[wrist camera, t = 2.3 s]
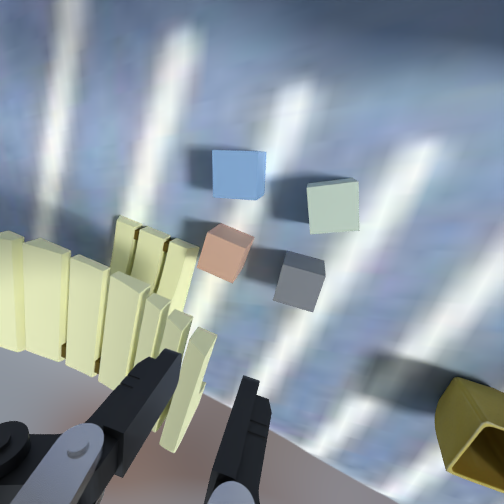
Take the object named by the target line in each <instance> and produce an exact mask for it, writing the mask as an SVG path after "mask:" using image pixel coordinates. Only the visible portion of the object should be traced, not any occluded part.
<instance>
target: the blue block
mask: <svg viewBox="0 0 504 504" xmlns="http://www.w3.org/2000/svg"><path fill="white" fill-rule="evenodd" d="M212 168H213V197H215V198H230V199H245V200H257V199H259V198H260V197H262V196H263V195H264V192H265V170H266V152H260V151H230V150H212Z"/></svg>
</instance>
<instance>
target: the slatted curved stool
mask: <svg viewBox="0 0 504 504" xmlns="http://www.w3.org/2000/svg"><path fill="white" fill-rule="evenodd" d="M141 227H142V224H141V223H138V222H136V221H133V220H131V219H128V218H126V217H123V216H121V215H120V216H119V218H118V219H117V222H116V231H115V238H114V245H113V252H112V258H111V263H110V267H108V266H106V265H103V264H101V263H99V262H96V261H94V260H92V259H89V258H87V257H85V256H82V255H80V254H78V255H75V256H73V257H71V251H70V250H68V249H66V248H63V247H61V246H59V245H56V244H54V243H52V242H49V241H47V240H45V239H42V238H38V239H35V240H31V241H28V242H24V237H23V236H21V235H18V234H16V233H14V232H11V231H4V232H0V347H3V348H6V349H9V350H12V351H15V352H20V351H23V350H27V351H30V352H32V353H35V354H38V355H41V356H43V357H46V358H49V359H51V360H54V361H57V362H60V361H62V360H64V359H66V365H67V366H69V367H71V368H74V369H76V370H78V371H80V372H82V373H84V374H86V375H88V376H90V377H94V376H95V375H97V374H99V378H98V381H99V382H101V383H102V384H104V385H106V386H107V387H109V388H110V389H112V390H114V389H115V388H116V387H117V386H118V385H120V383H121V381H122V380H123V379H124V378H125V377H126V376H127V375H128V373H129V372H130V371H131V370H132V369H133V368H134V366H135V365H136V364H137V363H139V362H141V361H142V360H144V359H146V358H147V357H152V358H154V359H156V358H157V357H158V356H159V354H160V353H161V352H162V351H163V350H164V349H165V348H167V349H170V350H173V351H176V352H178V353H181V354H182V358H183V353H184V349H185V345H186V341H187V338H188V334H189V330H190V327H191V323H192V319H193V316H190V315H188V314H186V313H183V309H184V305H185V301H186V298H187V294H188V290H189V286H190V282H191V278H192V275H193V271H194V267H195V263H196V259H197V256H198V252H199V248H200V247H198V246H195V245H193V244H190V243H188V242H185V241H183V240H180V239H178V238H175V239H173V240H171V239H170V235H168V234H166V233H163V232H161V231H158V230H156V229H153V228H151V227H148V226H147V227H145V228H141ZM166 255H167V256H166ZM165 259H166V261H165ZM164 264H165V265H164ZM216 338H217V335H216V334H214V333H212V332H209V331H207V330H205V329H202V328H200V327H198V328H197V329H196V331H195V332H194V334H193V335H192V336H191V338H190V339H189V343H188V346H187V350H186V353H185V357H184V360H183V364H182V367H181V370H180V376H179V381H178V384H177V387H176V390H175V392H174V394H173V395H172V397H171V399H170V400H169V402H168V404H167V405H166V407H165V409H164V410H163V412H162V414H161V415H160V417H159V419H158V420H157V422H156V423H155V425H154V427H153V428H152V431H153V432H156V431H157V430H158V429H159V428H160V426H161V425H162V423H163V422H164V420H165V419H166V417H167V419H166V422H165V426H164V429H163V433H162V436H161V439H160V443H159V444H160V445H161V446H162V447H163V448H165V449H166V450H168V451H170V452H173V453H175V451H176V450H177V448H178V446H179V444H180V442H181V440H182V438H183V436H184V434H185V432H186V430H187V428H188V426H189V424H190V421H191V419H192V417H193V415H194V413H195V411H196V409H197V407H198V404H199V402H200V399H201V396H202V393H203V390H204V387H205V385H206V382H203V381H202V380H203V377H204V374H205V371H206V368H207V365H208V362H209V359H210V356H211V353H212V350H213V347H214V344H215V341H216ZM181 362H182V360H181Z"/></svg>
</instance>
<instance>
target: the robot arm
mask: <svg viewBox="0 0 504 504" xmlns="http://www.w3.org/2000/svg"><path fill="white" fill-rule="evenodd" d="M181 360H182V354H181V353H178V352H176V351H173V350H170V349H167V348H165V349H164V350H163V351H162V352H161V353H160V354H159V356H158V357H157V358H156V359H154V358H152V357H147V358H146V359H144V360H142V361H141V362H139V363H137V364H136V365H135V366H134V368H133V369H132V370H131V371H130V372H129V373H128V375H127V376H126V377H125V378H124V379H123V380H122V381H121V383H120V385H118V386H117V387H116V388H115V389H114V391H113V392H112V393H111V394H110V395H109V396H108V398H107V399H106V400H105V401H104V402H103V403H102V404H101V406H100V407H99V408H98V409H97V410H96V411H95V413H94V414H93V415H92V416H91V417H90V418H89V419H88V420H87V421H86V422H85V423H83V424H79V425H76V426H74V427H72V428H70V429H69V430H67V431H66V432H64V433H62V434H55V435H54V434H45V435H44V434H29V431H28V428H27V426H26V425H25V424H23V423H21V422H18V421H10V422H5V423H1V424H0V504H100V502H101V500H102V497H103V495H104V491H105V488H106V486H107V485H108V483H109V481H110V480H111V478H112V477H113V475H114V474H115V475H117V476H120V477H122V478H123V477H124V475H125V473H126V472H127V470H128V468H129V467H130V465H131V463H132V462H133V460H134V458H135V457H136V455H137V453H138V452H139V450H140V448H141V447H142V445H143V443H144V442H145V440H146V438H147V437H148V435H149V433H150V432H151V430H152V428H153V427H154V425H155V423H156V422H157V420H158V419H159V417H160V415H161V414H162V412H163V410H164V409H165V407H166V405H167V404H168V402H169V400H170V399H171V397H172V395H173V394H174V392H175V390H176V387H177V384H178V381H179V376H180V368H181ZM259 382H260V381H259V380H256V379H253V378H250V377H247V376H244V375H243V378H242V381H241V384H240V387H239V390H238V393H237V396H236V399H235V402H234V405H233V408H232V411H231V414H230V417H229V420H228V423H227V426H226V429H225V432H224V435H223V438H222V441H221V444H220V447H219V450H218V453H217V456H216V459H215V462H214V465H213V468H212V472H211V476H210V481H209V484H208V489H207V493H206V497H205V501H204V504H260V502H259V491H258V490H259V483H260V477H261V471H262V465H263V460H264V454H265V448H266V442H267V436H268V431H269V425H270V419H271V413H272V412H271V408H270V403H269V399H267V398H264V397H261V396H258V395H256V394H257V390H258V386H259Z"/></svg>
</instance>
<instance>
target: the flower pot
mask: <svg viewBox="0 0 504 504" xmlns="http://www.w3.org/2000/svg"><path fill="white" fill-rule="evenodd" d="M435 430H436V435H437V439H438V443H439V446H440V450H441V454H442V458H443V461H444V465H445V469H446V471H447V472H449V473H451V474H454V475H456V476H458V477H461V478H464V479H466V480H469V481H472V482H474V483H477V484H480V485H482V486H485V487H488V488H491V489H494V490H496V491H499V492H502V493H504V393H503V392H501V391H498V390H496V389H494V388H491V387H488V386H485V385H481V384H478V383H475V382H472V381H469V380H466V379H463V378H460V377H455V378H453V380H452V381H451V383H450V384H449V386H448V387H447V389H446V390H445V392H444V393H443V395H442V396H441V398H440V399H439V401H438V404H437V408H436V412H435Z"/></svg>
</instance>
